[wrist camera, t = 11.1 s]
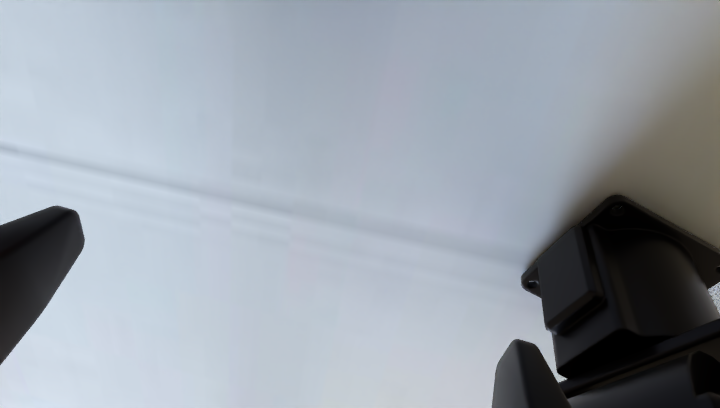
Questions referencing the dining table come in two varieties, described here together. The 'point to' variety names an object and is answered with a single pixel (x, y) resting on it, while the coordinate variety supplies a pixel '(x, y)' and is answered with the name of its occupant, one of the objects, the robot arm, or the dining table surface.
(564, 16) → the dining table surface
